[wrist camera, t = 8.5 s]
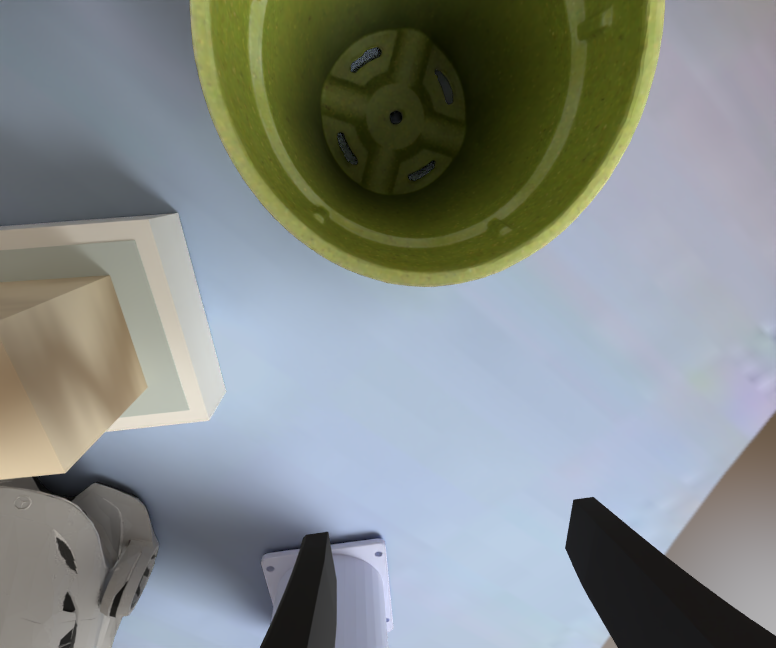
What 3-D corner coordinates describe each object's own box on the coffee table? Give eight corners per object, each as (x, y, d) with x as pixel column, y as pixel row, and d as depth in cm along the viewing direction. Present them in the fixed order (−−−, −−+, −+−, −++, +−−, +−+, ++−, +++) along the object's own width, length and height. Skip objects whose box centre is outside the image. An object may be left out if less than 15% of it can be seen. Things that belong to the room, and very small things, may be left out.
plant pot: (361, 273, 18) (370, 354, 10) (226, 74, 14) (64, -58, 6) (535, 160, 16) (711, 145, 8) (433, -86, 13) (567, -504, 5)
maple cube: (147, 387, 16) (65, 473, 11) (25, 397, 16) (-111, 490, 11) (109, 275, 14) (-8, 323, 9) (-31, 284, 14) (-223, 338, 9)
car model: (-49, 685, 26) (-133, 793, 22) (-47, 417, 19) (-176, 497, 14) (119, 699, 29) (75, 798, 24) (181, 467, 21) (135, 549, 17)
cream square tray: (226, 391, 19) (209, 421, 17) (45, 410, 19) (1, 443, 16) (177, 212, 16) (148, 219, 13) (-45, 229, 15) (-117, 239, 13)
